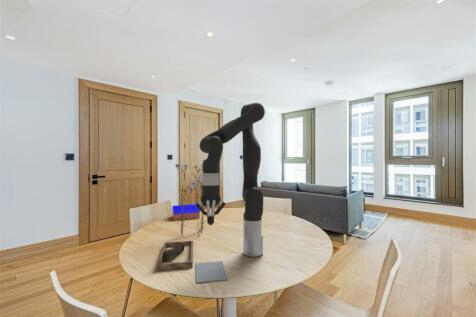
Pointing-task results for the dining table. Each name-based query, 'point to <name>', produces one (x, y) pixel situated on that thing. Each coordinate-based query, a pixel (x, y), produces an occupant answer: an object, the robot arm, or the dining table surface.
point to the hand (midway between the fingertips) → (210, 224)
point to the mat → (210, 272)
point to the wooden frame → (175, 264)
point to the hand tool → (172, 252)
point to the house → (186, 212)
